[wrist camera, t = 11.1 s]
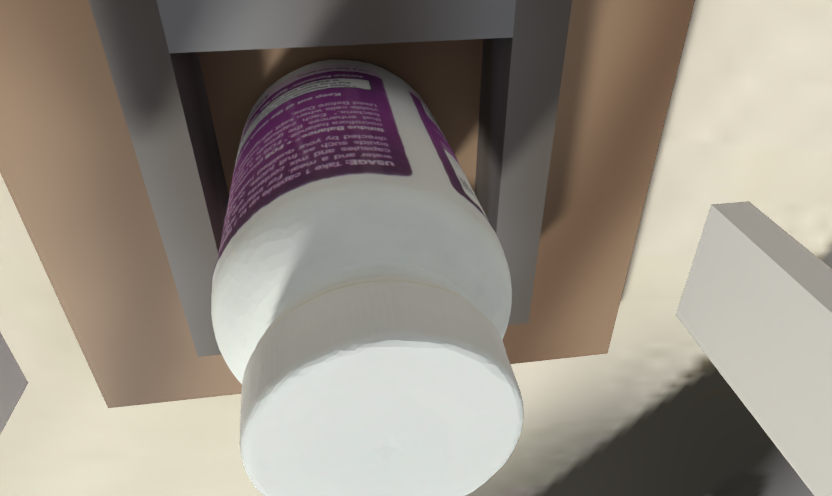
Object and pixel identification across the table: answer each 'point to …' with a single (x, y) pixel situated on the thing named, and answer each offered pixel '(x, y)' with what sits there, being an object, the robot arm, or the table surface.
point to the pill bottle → (362, 296)
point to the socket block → (226, 116)
